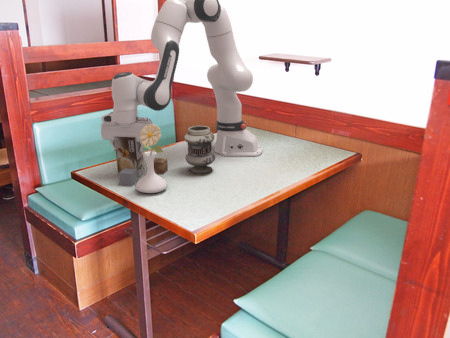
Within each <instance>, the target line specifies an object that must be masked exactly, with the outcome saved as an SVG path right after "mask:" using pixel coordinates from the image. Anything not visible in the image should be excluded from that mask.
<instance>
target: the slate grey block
mask: <svg viewBox="0 0 450 338" xmlns="http://www.w3.org/2000/svg"><path fill="white" fill-rule="evenodd" d="M138 178H139V177H138V176H137V169H127V168H124V169H123V170H122V171H121V172H119V176H118V179H119V186H123V187H125V186H127V187H133V186H136V184H137V183H138V181H139V179H138Z"/></svg>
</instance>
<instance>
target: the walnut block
mask: <svg viewBox="0 0 450 338" xmlns="http://www.w3.org/2000/svg"><path fill="white" fill-rule="evenodd" d="M168 166H169V165H168V158H165V157H164V158H163V157H155V158H154V172H155V173H156V174H157V175H164V174H165V173H166V172H167V171H168Z"/></svg>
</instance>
